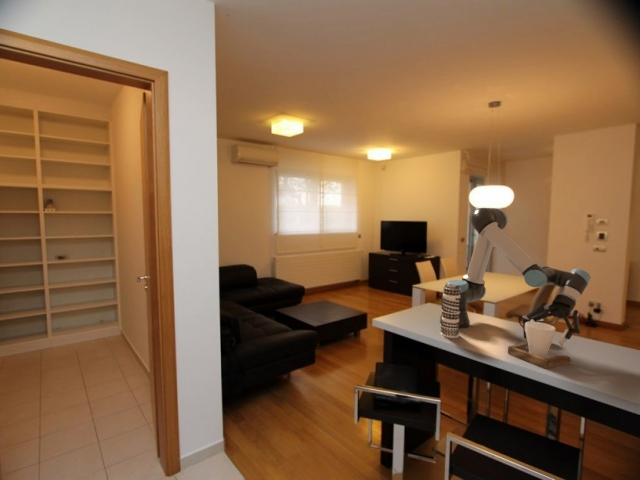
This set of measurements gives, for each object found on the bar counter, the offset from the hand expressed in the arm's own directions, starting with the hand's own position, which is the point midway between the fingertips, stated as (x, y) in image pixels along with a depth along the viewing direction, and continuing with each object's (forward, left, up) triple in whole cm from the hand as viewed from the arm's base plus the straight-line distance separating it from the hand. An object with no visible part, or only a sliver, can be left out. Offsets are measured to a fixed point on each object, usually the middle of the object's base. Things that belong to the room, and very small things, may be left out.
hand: (542, 338), depth 134 cm
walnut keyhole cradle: (0, -3, -8) cm, 9 cm away
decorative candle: (-34, -15, -8) cm, 39 cm away
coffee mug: (-16, +20, -8) cm, 27 cm away
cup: (-1, -2, -8) cm, 8 cm away
